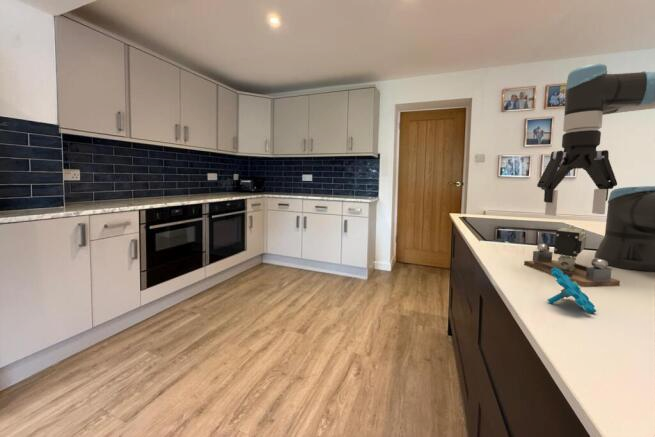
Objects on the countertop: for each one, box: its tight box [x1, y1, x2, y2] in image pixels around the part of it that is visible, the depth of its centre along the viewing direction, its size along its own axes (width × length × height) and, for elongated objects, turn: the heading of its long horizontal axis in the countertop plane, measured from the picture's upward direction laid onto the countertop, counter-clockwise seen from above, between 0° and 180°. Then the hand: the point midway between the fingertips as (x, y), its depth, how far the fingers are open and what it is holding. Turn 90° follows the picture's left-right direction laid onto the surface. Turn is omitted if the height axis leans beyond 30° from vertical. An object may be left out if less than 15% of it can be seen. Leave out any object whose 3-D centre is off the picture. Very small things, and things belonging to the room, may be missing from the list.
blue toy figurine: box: [547, 267, 597, 314], centre depth 61 cm, size 11×6×10 cm
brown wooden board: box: [523, 259, 621, 288], centre depth 81 cm, size 10×19×2 cm, turn 5°
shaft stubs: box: [532, 243, 613, 282], centre depth 81 cm, size 4×19×5 cm, turn 5°
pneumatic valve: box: [553, 225, 587, 272], centre depth 81 cm, size 6×12×12 cm, turn 134°
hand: (574, 214), depth 80 cm, fingers open, 13 cm apart
